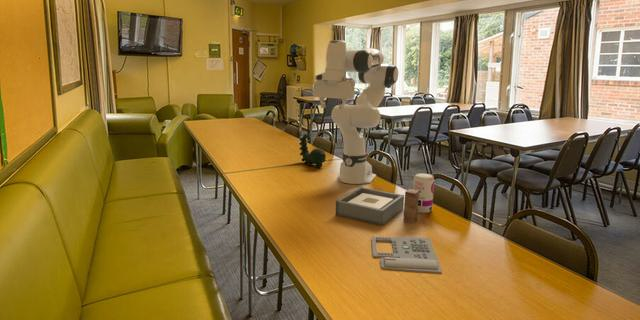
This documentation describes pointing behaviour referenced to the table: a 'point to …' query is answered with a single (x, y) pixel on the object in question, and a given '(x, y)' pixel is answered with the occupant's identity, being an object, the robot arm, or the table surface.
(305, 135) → the toy figurine
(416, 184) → the supplement can
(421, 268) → the office telephone
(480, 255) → the table surface
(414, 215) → the peg
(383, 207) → the open box
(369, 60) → the robot arm
